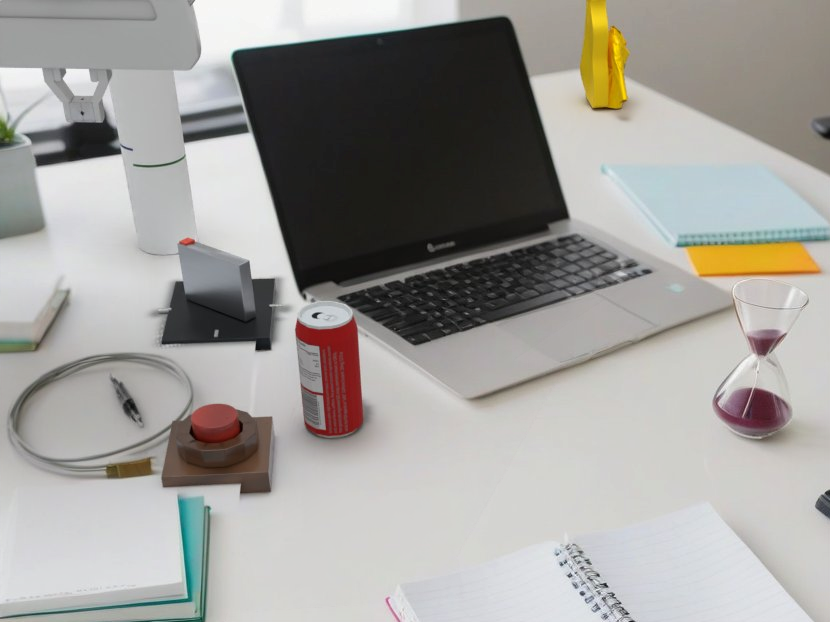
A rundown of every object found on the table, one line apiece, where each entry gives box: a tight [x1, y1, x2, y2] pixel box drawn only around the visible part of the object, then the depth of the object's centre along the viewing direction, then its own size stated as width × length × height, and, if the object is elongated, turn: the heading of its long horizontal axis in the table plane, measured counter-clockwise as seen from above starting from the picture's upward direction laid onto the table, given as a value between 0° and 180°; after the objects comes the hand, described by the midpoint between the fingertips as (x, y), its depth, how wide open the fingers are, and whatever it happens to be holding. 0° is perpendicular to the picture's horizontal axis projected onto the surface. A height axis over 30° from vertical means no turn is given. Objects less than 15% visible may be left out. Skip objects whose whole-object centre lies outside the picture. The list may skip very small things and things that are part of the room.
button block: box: [160, 408, 276, 495], centre depth 103 cm, size 9×9×4 cm
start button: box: [191, 403, 240, 443], centre depth 101 cm, size 4×4×2 cm
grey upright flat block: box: [177, 238, 256, 322], centre depth 123 cm, size 9×2×7 cm, turn 56°
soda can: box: [294, 300, 364, 439], centre depth 106 cm, size 6×6×12 cm
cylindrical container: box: [108, 69, 199, 256], centre depth 134 cm, size 7×7×25 cm
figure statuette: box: [579, 0, 631, 110], centre depth 182 cm, size 18×8×22 cm, turn 8°
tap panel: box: [157, 278, 284, 352], centre depth 125 cm, size 14×13×2 cm
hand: (86, 120), depth 98 cm, fingers closed
